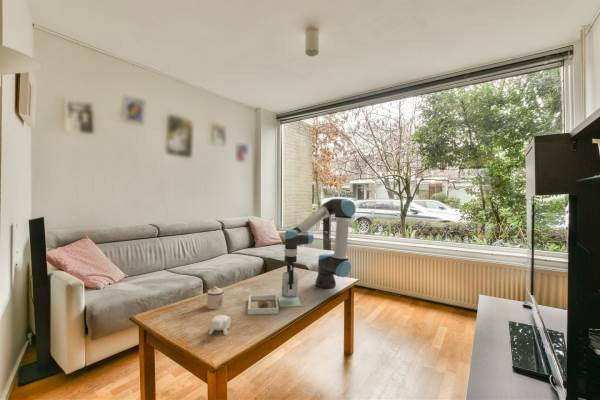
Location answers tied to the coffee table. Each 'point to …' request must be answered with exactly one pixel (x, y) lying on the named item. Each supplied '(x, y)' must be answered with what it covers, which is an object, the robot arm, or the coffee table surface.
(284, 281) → the supplement tub
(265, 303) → the walnut block
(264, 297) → the parts tray
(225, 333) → the white animal figurine
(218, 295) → the teacup with lid
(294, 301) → the mat
